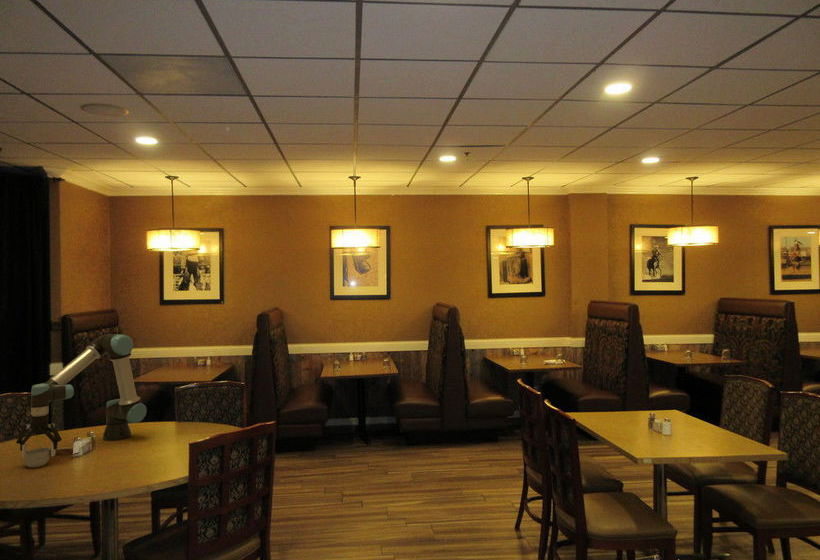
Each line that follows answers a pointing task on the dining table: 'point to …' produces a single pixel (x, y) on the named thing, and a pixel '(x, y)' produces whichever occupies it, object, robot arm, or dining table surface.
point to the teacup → (36, 457)
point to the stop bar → (62, 451)
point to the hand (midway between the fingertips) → (38, 456)
